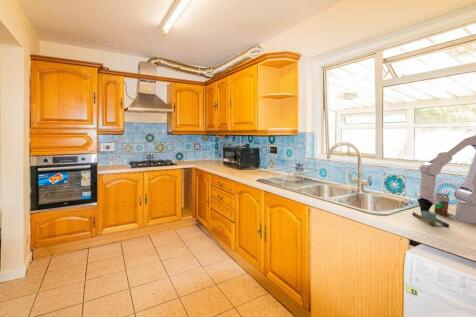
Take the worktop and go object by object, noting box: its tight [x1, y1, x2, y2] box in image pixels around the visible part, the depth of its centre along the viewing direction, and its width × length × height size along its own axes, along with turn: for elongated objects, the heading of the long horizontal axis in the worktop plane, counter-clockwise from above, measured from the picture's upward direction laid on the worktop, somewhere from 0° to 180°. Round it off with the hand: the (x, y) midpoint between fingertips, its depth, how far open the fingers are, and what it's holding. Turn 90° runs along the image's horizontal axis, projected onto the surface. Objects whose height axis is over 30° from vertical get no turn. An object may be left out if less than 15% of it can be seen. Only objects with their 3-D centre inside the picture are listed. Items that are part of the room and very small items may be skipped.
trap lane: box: [411, 211, 450, 229], centre depth 118 cm, size 6×16×2 cm, turn 175°
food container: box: [433, 192, 450, 217], centre depth 130 cm, size 12×6×10 cm, turn 141°
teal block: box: [421, 210, 437, 222], centre depth 118 cm, size 4×4×4 cm
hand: (424, 214), depth 122 cm, fingers closed
